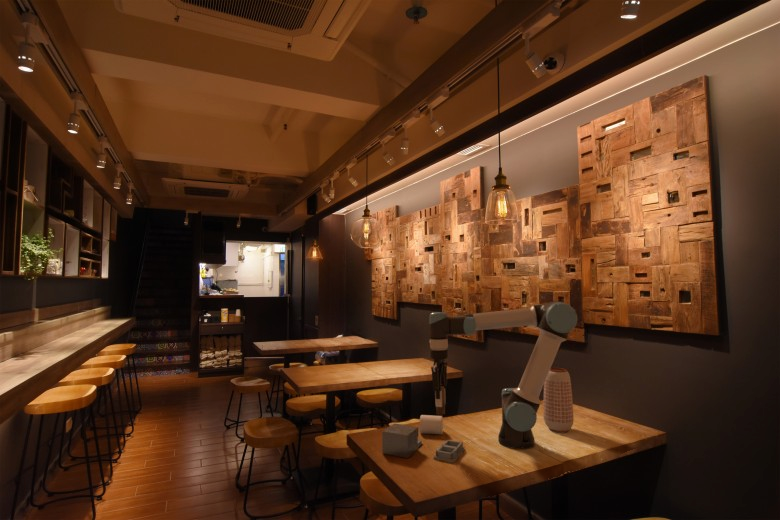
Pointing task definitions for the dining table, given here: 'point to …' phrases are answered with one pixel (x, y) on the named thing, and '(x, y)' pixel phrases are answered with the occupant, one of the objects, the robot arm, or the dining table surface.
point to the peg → (442, 409)
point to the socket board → (449, 451)
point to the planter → (558, 400)
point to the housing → (400, 440)
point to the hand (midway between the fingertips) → (440, 405)
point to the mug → (431, 424)
